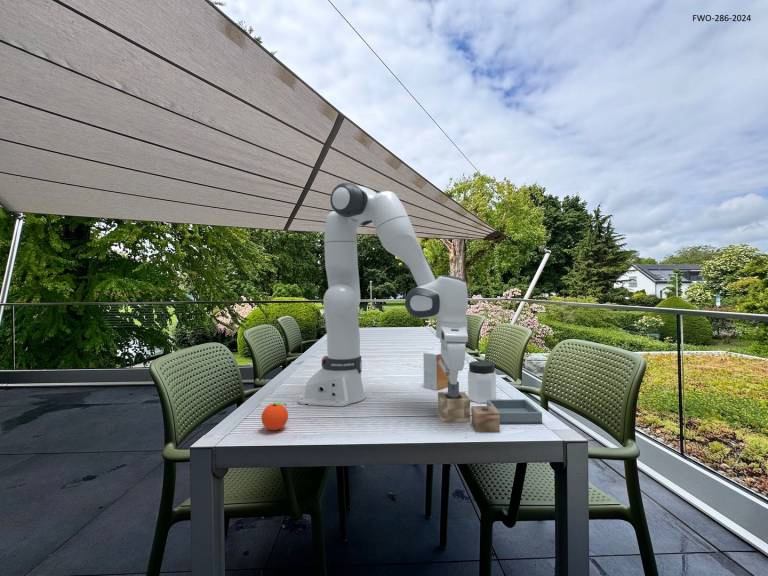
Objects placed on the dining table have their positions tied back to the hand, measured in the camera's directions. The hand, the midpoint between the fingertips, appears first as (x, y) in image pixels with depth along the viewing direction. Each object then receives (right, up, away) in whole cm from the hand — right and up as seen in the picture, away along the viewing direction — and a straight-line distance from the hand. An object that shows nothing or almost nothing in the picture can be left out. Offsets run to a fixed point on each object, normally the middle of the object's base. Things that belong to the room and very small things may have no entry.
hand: (450, 379), depth 109 cm
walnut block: (+8, -11, -9) cm, 16 cm away
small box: (+1, -11, +32) cm, 34 cm away
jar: (+13, -11, +16) cm, 23 cm away
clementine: (-48, -12, -7) cm, 50 cm away
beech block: (+1, -11, 0) cm, 11 cm away
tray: (+18, -11, -1) cm, 21 cm away
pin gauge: (+1, -10, 0) cm, 10 cm away
